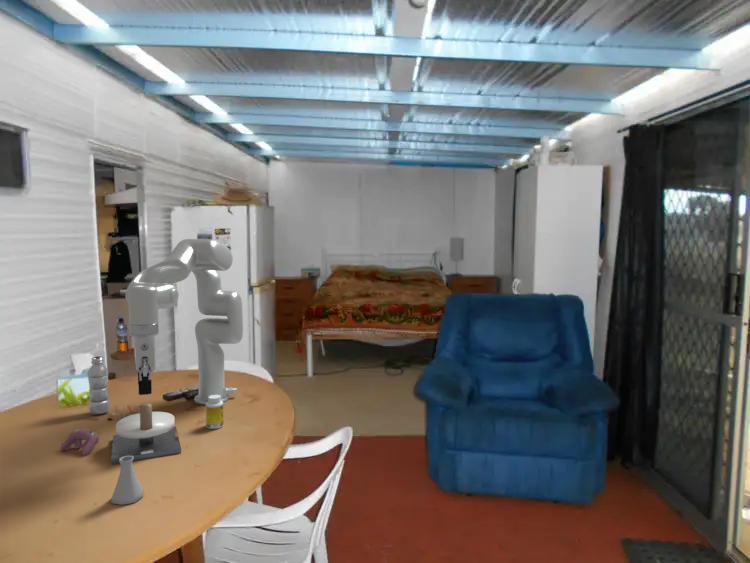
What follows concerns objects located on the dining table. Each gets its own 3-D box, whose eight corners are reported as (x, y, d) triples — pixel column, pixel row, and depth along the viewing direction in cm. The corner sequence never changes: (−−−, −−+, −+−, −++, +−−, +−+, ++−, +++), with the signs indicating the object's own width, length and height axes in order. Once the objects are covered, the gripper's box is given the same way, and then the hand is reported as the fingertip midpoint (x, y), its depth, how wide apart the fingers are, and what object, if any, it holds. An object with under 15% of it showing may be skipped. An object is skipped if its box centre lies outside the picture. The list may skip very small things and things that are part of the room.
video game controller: (95, 457, 146) (104, 432, 149) (83, 456, 142) (92, 430, 145) (70, 451, 150) (79, 427, 152) (57, 450, 146) (66, 425, 148)
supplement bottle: (224, 428, 165) (223, 398, 164) (206, 430, 164) (205, 400, 163) (223, 422, 171) (222, 393, 170) (205, 424, 169) (205, 394, 168)
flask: (118, 490, 125) (117, 452, 124) (148, 489, 126) (147, 451, 125) (105, 506, 118) (103, 465, 117) (137, 505, 118) (136, 464, 117)
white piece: (172, 414, 161) (172, 387, 160) (176, 433, 147) (176, 403, 146) (116, 422, 154) (115, 393, 153) (115, 442, 140) (114, 410, 139)
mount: (175, 430, 163) (175, 414, 162) (181, 453, 147) (180, 434, 146) (113, 439, 155) (112, 422, 154) (111, 464, 139) (111, 445, 138)
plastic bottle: (114, 410, 180) (112, 355, 178) (102, 417, 173) (100, 360, 171) (97, 409, 180) (95, 354, 179) (84, 416, 174) (82, 359, 172)
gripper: (160, 334, 135) (160, 396, 136) (156, 324, 150) (157, 380, 152) (128, 335, 131) (130, 399, 133) (128, 325, 147) (129, 382, 148)
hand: (144, 389), depth 142 cm, fingers open, 9 cm apart
